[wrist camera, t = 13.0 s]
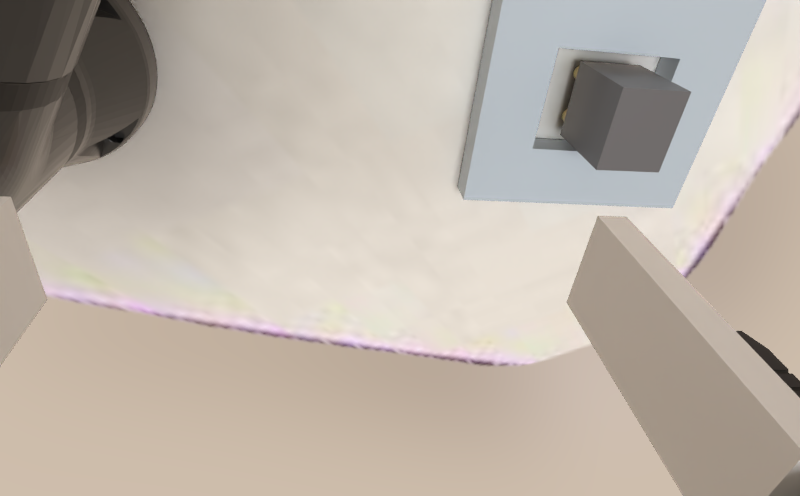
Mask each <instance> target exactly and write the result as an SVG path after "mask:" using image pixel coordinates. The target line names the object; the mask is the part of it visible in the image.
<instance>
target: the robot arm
mask: <svg viewBox="0 0 800 496" xmlns="http://www.w3.org/2000/svg"><path fill="white" fill-rule="evenodd" d="M156 88H157V67H156V60H155V55H154V51H153V47H152V44H151V41H150V39H149V36H148V34H147V31H146V29H145V27H144V25H143V23H142V21H141V19H140V18H139V16H138V14H137V13H136V11H135V9H134V8H133V6H132V5H131V4H130V2H129V1H128V0H0V366H1V364H2V363H3V362H4V360H5V359H6V358H7V356H8V355H9V353H10V352H11V351H12V349H13V348H14V346H15V345H16V343H17V342H18V341H19V339H20V338H21V336H22V335H23V333H24V332H25V331H26V329H27V328H28V327H29V325H30V324H31V322H32V321H33V319H34V318H35V317H36V315H37V314H38V312H39V311H40V310H41V308H42V307H43V305H44V304H45V303H46V301H47V298H46V295H45V292H44V289H43V286H42V283H41V280H40V278H39V275H38V272H37V269H36V266H35V263H34V261H33V258H32V255H31V252H30V249H29V246H28V244H27V241H26V238H25V235H24V232H23V229H22V227H21V224H20V221H19V218H18V215H17V212H18V211H19V210H20V209H21V208H22V207H23V206H24V205H25V204H26V203H27V202H28V201H29V200H30V199H31V198H32V197H33V196H34V195H35V194H36V193H37V192H38V191H39V190H40V189H41V188H42V187H43V186H44V185H45V184H46V183H47V182H48V181H49V180H50V179H51V178H52V177H53V176H54V175H55V174H56V173H57V172H58V171H59V170H60V169H61V168H62V167H67V166H71V165H76V164H80V163H84V162H89V161H92V160H96V159H98V158H101V157H103V156H106V155H108V154H110V153H111V152H113V151H115V150H117V149H118V148H119V147H121V146H122V145H123V144H125V143H126V142H127V141H128V140H129V139H130V138H131V137H132V136H133V135H134V134H135V132H136V131H137V130H138V129H139V128H140V126H141V125H142V124H143V123H144V121H145V120H146V118H147V116H148V115H149V113H150V110H151V108H152V106H153V102H154V99H155V95H156ZM567 304H568V305H569V307H570V309H571V310H572V312H573V314H574V315H575V317H576V319H577V320H578V322H579V324H580V325H581V327H582V329H583V330H584V332H585V334H586V335H587V337H588V339H589V340H590V342H591V344H592V345H593V347H594V349H595V350H596V352H597V353H598V355H599V357H600V358H601V360H602V362H603V363H604V365H605V367H606V369H607V370H608V372H609V373H610V375H611V377H612V379H613V380H614V382H615V384H616V385H617V387H618V389H619V390H620V392H621V393H622V395H623V397H624V399H625V400H626V402H627V403H628V405H629V407H630V408H631V410H632V412H633V413H634V415H635V417H636V418H637V420H638V422H639V423H640V425H641V427H642V428H643V430H644V432H645V433H646V435H647V437H648V438H649V440H650V442H651V443H652V445H653V447H654V448H655V450H656V452H657V453H658V455H659V457H660V458H661V460H662V462H663V463H664V465H665V467H666V468H667V470H668V472H669V473H670V475H671V477H672V478H673V480H674V482H675V483H676V485H677V487H678V488H679V490H680V492H681V493H682V495H683V496H800V381H799V380H798V379H797V378H796V377H795V376H794V375H793V374H789V373H788V369H787V368H786V367H785V366H784V365H783V364H782V363H781V362H780V361H779V360H778V359H777V358H776V357H775V356H774V355H773V353H772V352H771V351H770V350H769V349H767V348H766V347H764V346H763V345H761V344H760V343H758V342H757V341H755V340H754V339H753V338H751V337H749V336H748V335H747V334H745V333H744V332H742V331H735V330H734V329H733V328H732V327H731V326H730V325H729V324H728V322H727V321H726V320H725V319H724V318H723V317H722V316H721V315H720V314H719V313H718V312H717V311H716V310H715V309H714V308H713V307H712V306H711V305H710V304H709V303H708V302H707V301H706V300H705V298H704V297H703V296H702V295H701V294H700V293H699V292H698V291H697V290H696V289H695V288H694V287H693V286H692V285H691V284H690V283H689V282H688V281H687V280H686V279H685V278H684V277H683V275H682V274H681V273H680V272H679V271H678V270H677V269H676V268H675V267H674V266H673V265H672V264H671V263H670V262H669V261H668V260H667V259H666V258H665V257H664V256H663V255H662V254H661V253H660V251H659V250H658V249H657V248H656V247H655V246H654V245H653V244H652V243H651V242H650V241H649V240H648V239H647V238H646V237H645V236H644V235H643V234H642V233H641V232H640V231H639V230H638V228H637V227H636V226H635V225H634V224H633V223H632V222H631V221H630V220H629V219H628V218H627V217H614V216H598V217H597V220H596V223H595V225H594V228H593V231H592V234H591V237H590V239H589V242H588V245H587V248H586V250H585V253H584V256H583V259H582V261H581V264H580V267H579V270H578V272H577V275H576V278H575V281H574V283H573V286H572V289H571V292H570V294H569V297H568V300H567Z"/></svg>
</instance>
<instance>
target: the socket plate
mask: <svg viewBox="0 0 800 496" xmlns="http://www.w3.org/2000/svg"><path fill="white" fill-rule="evenodd" d="M765 2H766V0H492V5H491V10H490V15H489V21H488V26H487V31H486V37H485V42H484V48H483V53H482V58H481V64H480V69H479V74H478V80H477V85H476V91H475V96H474V101H473V107H472V112H471V117H470V123H469V128H468V133H467V139H466V144H465V150H464V155H463V160H462V166H461V171H460V176H459V182H458V188H459V191H460V193H461V195H462V197H463V199H464V200H486V201H510V202H535V203H559V204H583V205H607V206H631V207H656V208H673V206H674V204H675V201H676V199H677V197H678V195H679V193H680V190H681V188H682V186H683V184H684V181H685V179H686V177H687V175H688V173H689V170H690V168H691V166H692V164H693V162H694V159H695V157H696V155H697V153H698V151H699V148H700V146H701V144H702V142H703V139H704V137H705V135H706V133H707V131H708V128H709V126H710V124H711V122H712V120H713V117H714V115H715V113H716V111H717V108H718V106H719V104H720V102H721V100H722V97H723V95H724V93H725V91H726V89H727V86H728V84H729V82H730V80H731V77H732V75H733V73H734V71H735V69H736V66H737V64H738V62H739V60H740V58H741V55H742V53H743V51H744V49H745V47H746V44H747V42H748V40H749V38H750V35H751V33H752V31H753V29H754V27H755V24H756V22H757V20H758V18H759V16H760V13H761V11H762V9H763V7H764V4H765ZM559 48H567V49H578V50H589V51H600V52H611V53H622V54H633V55H644V56H655V57H661V58H660V61H659V63H658V66H657V69H656V71H655V73H656V74H658V75H660V76H662V77H664V78H665V79H667V80H669V81H671V82H673V83H675V84H677V85H679V86H681V87H683V88H685V89H687V90H689V91H691V94H690V97H689V99H688V102H687V104H686V107H685V109H684V112H683V114H682V117H681V119H680V121H679V124H678V126H677V129H676V131H675V134H674V136H673V139H672V141H671V144H670V146H669V149H668V151H667V154H666V156H665V159H664V161H663V164H662V166H661V169H660V171H659V172H634V171H609V170H596V169H595V168H594V167H593V166H592V165H591V164H590V163H589V162H588V161H587V160H586V159H585V158H584V157H583V156H582V155H581V154H580V153H579V152H577V151H576V150H575V149H574V148H573V147H572V146H571V145H570V144H569V143H568V142H567V141H566V140H557V139H541V138H535V137H536V133H537V130H538V126H539V122H540V118H541V114H542V110H543V107H544V103H545V99H546V95H547V91H548V88H549V84H550V80H551V76H552V72H553V69H554V65H555V61H556V57H557V53H558V50H559Z"/></svg>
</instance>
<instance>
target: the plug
mask: <svg viewBox="0 0 800 496" xmlns="http://www.w3.org/2000/svg"><path fill="white" fill-rule="evenodd" d="M573 76H574V78H575V79H576V80H575V84H574V87H573V91H572V94H571V98H570V102H569V105H568V109H566V110H565V111H564V112H563V113H562V120H563V121H564V123H563V127H562V130H561V134H560V135H561V136H562V137H563V138H564V139H565V140H566V141H567V142H568V143H569V144H570V145H571V146H572V147H573V148H574V149H575V150H576V151H577V152H579V153H580V154H581V155H582V156H583V157H584V158H585V159H586V160H587V161H588V162H589V163H590V164H591V165H592V166H593V167H594V168H595V169H596V170H609V171H634V172H659V171H660V169H661V166H662V164H663V161H664V159H665V156H666V154H667V151H668V149H669V146H670V144H671V141H672V139H673V136H674V134H675V131H676V129H677V126H678V124H679V121H680V119H681V117H682V114H683V112H684V109H685V107H686V104H687V102H688V99H689V97H690V94H691V91H689V90H687V89H685V88H683V87H681V86H679V85H677V84H675V83H673V82H671V81H669V80H667V79H665V78H664V77H662V76H660V75H658V74H656V73H654V72H652V71H650V70H648V69H646V68H644V67H642V66H640V65H628V64H614V63H601V62H587V61H581V62H580V65H579V66H578V67H576V68H575V70H574V73H573Z"/></svg>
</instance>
